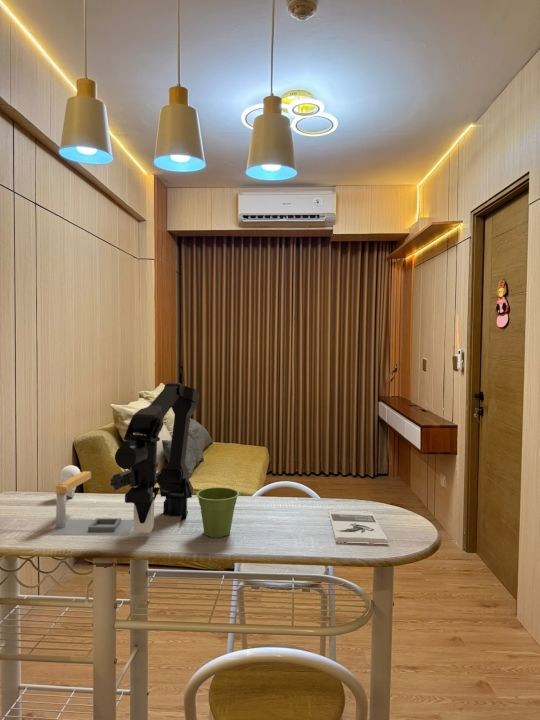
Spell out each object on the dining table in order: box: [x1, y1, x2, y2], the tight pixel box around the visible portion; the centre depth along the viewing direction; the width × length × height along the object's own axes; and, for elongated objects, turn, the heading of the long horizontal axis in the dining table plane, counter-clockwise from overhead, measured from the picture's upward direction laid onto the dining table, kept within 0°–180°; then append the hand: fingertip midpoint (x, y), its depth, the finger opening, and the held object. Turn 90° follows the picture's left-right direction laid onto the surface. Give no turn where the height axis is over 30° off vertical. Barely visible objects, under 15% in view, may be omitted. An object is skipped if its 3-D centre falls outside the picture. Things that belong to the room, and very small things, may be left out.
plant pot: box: [195, 486, 240, 538], centre depth 130 cm, size 12×12×11 cm
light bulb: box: [59, 464, 81, 499], centre depth 159 cm, size 7×7×11 cm
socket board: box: [46, 493, 134, 536], centre depth 130 cm, size 21×12×10 cm, turn 94°
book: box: [327, 509, 389, 543], centre depth 137 cm, size 23×14×2 cm, turn 178°
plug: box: [132, 493, 155, 533], centre depth 124 cm, size 4×4×9 cm
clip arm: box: [55, 470, 92, 495], centre depth 137 cm, size 18×3×2 cm, turn 177°
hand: (144, 519), depth 124 cm, fingers closed on plug, 4 cm apart
